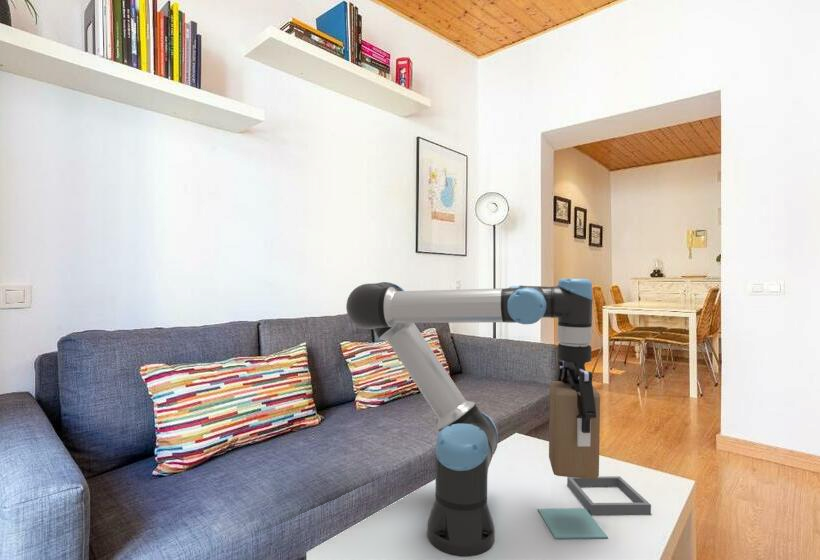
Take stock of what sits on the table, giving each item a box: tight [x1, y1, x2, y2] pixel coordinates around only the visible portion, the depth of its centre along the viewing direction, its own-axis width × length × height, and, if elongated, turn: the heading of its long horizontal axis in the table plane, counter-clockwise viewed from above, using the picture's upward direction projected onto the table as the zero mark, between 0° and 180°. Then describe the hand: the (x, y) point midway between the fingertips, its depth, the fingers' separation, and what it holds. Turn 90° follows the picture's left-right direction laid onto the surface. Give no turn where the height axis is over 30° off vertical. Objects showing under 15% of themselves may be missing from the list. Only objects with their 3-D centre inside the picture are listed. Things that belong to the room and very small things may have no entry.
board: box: [537, 507, 609, 540], centre depth 105 cm, size 12×12×1 cm
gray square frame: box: [566, 475, 652, 516], centre depth 116 cm, size 15×15×2 cm
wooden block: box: [548, 380, 601, 479], centre depth 104 cm, size 10×10×20 cm
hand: (572, 436), depth 104 cm, fingers closed on wooden block, 11 cm apart
